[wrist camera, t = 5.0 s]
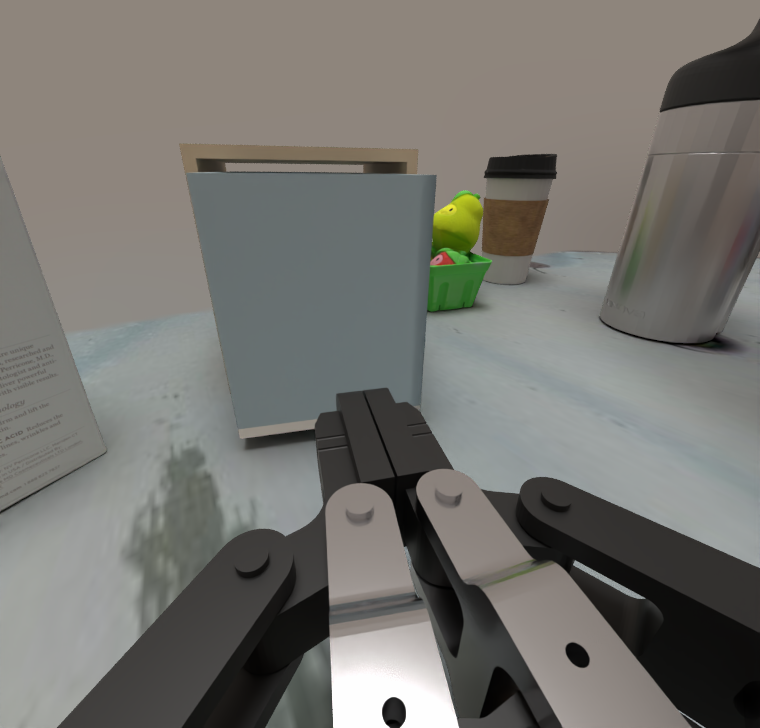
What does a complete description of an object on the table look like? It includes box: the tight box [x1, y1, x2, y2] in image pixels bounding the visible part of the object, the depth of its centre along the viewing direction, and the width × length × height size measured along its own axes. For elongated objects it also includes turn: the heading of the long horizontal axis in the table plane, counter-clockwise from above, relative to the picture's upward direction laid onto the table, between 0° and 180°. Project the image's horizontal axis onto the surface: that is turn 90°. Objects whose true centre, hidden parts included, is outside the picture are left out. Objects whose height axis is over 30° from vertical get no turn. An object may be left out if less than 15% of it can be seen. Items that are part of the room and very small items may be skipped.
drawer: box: [186, 172, 436, 439], centre depth 25 cm, size 10×18×12 cm, turn 14°
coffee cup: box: [482, 154, 557, 285], centre depth 48 cm, size 8×8×15 cm
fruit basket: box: [427, 191, 492, 312], centre depth 41 cm, size 11×9×11 cm
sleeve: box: [179, 144, 418, 394], centre depth 27 cm, size 12×12×14 cm
